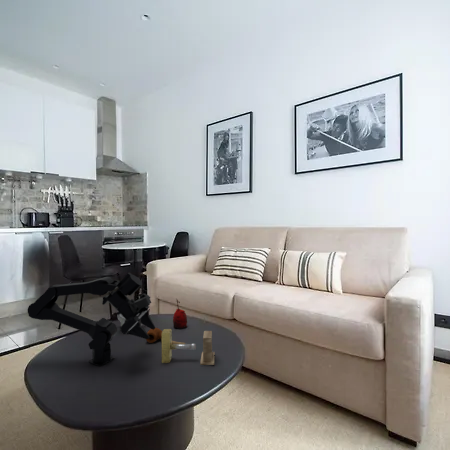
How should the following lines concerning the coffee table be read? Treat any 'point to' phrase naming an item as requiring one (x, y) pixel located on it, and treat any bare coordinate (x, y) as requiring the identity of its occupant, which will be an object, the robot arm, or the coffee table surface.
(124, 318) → the teacup
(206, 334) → the eye post
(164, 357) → the olive block with rod
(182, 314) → the red clay folk toy
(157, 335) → the smoking pipe
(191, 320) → the coffee table surface
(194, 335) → the coffee table surface
